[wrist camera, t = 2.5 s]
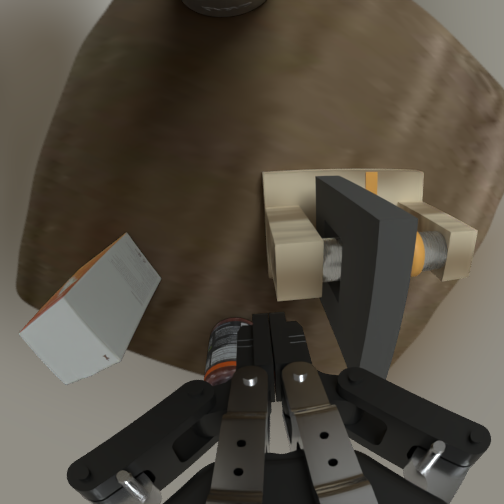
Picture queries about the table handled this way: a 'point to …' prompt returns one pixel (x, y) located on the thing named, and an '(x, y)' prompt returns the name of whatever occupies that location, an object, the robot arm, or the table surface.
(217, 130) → the table surface
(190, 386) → the robot arm
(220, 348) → the supplement bottle
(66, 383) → the small box
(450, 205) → the table surface
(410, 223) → the dark grey flat block
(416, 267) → the pipe stand
